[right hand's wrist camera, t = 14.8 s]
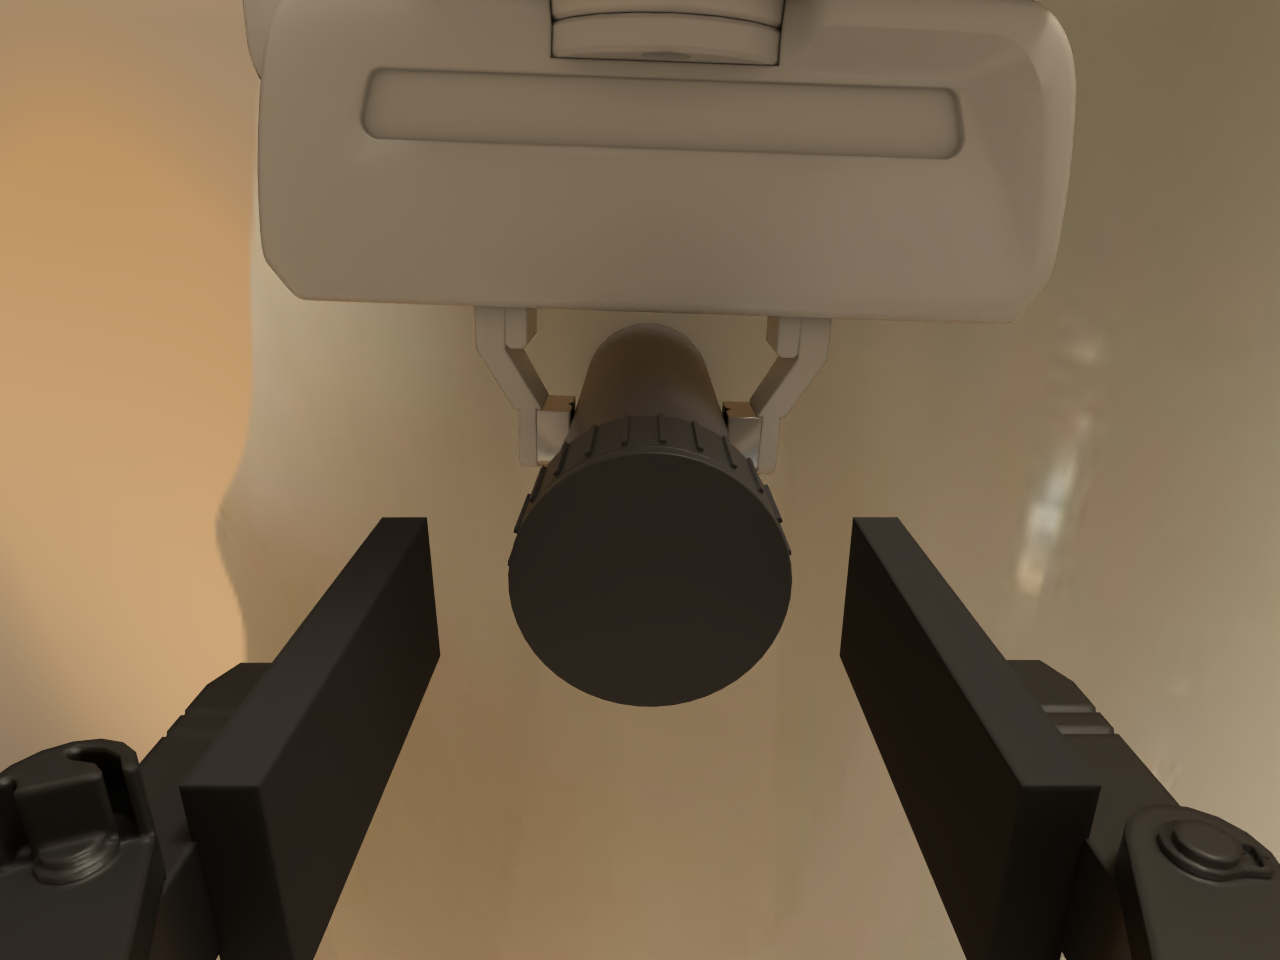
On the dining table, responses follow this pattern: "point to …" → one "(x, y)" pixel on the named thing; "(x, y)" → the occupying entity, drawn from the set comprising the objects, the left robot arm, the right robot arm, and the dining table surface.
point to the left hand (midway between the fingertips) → (648, 464)
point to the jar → (647, 381)
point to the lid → (649, 563)
